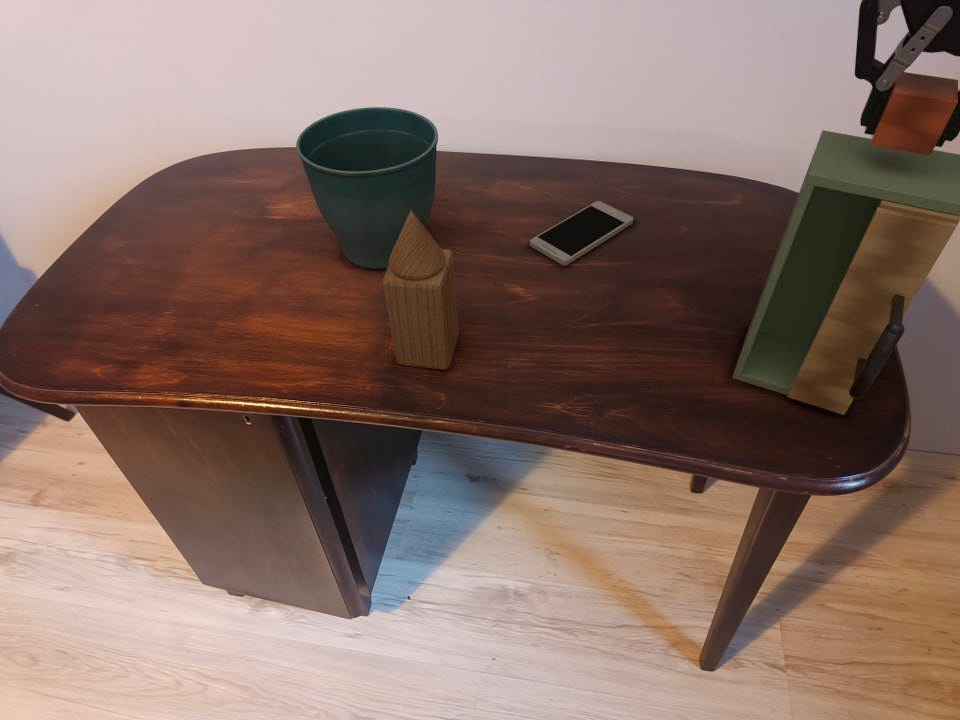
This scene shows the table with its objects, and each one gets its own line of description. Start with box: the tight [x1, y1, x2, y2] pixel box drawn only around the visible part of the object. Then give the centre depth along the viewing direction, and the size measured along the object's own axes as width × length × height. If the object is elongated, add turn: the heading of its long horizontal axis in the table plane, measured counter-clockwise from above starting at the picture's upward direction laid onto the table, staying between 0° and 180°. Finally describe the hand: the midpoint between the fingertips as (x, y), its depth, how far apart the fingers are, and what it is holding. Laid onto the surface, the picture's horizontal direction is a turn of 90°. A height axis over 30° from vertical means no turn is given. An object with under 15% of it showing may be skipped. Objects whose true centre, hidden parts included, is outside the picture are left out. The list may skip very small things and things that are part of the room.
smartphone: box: [529, 200, 634, 266], centre depth 94 cm, size 7×16×1 cm, turn 132°
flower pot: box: [295, 106, 439, 270], centre depth 88 cm, size 18×18×17 cm
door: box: [786, 207, 957, 416], centre depth 59 cm, size 6×6×24 cm
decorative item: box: [382, 211, 460, 371], centre depth 71 cm, size 7×7×20 cm
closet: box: [731, 129, 960, 396], centre depth 65 cm, size 12×10×26 cm
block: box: [870, 71, 959, 155], centre depth 52 cm, size 4×4×4 cm
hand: (903, 135), depth 54 cm, fingers closed on block, 4 cm apart
